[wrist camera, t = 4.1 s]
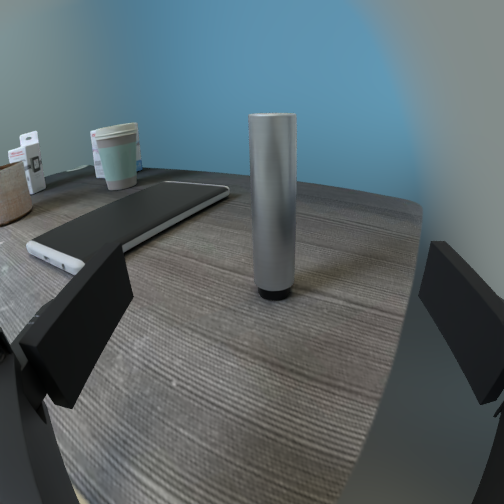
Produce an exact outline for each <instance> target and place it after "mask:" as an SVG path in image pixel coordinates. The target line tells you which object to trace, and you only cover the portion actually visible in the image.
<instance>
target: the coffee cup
mask: <svg viewBox="0 0 504 504" xmlns="http://www.w3.org/2000/svg"><path fill="white" fill-rule="evenodd" d="M136 133H137V128H136V127H135V124H134V123H127V124H121V125H115V126H110V127H105V128H100V129H97V130H96V135H95V140H96V142H97V147H98V151H99V155H100V159H101V163H102V167H103V171H104V175H105V179H106V182H107V186H108V189H109V190H121V189H126V188H129V187H132V186H134V185H136V184H137V175H136Z"/></svg>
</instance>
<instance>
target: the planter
mask: <svg viewBox="0 0 504 504" xmlns="http://www.w3.org/2000/svg"><path fill="white" fill-rule="evenodd" d="M31 209H32V202H31V197H30V193H29V188H28V184H27V179H26V174H25V168H24V162H23V161H18V162H14V163H10V164H7V165H4V166H0V226H3V225H6V224H9V223H12V222H14V221H16V220H18V219H20V218H22V217H24V216H25V215H27V214H28V213H29V212H30V210H31Z"/></svg>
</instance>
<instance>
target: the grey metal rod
mask: <svg viewBox="0 0 504 504" xmlns="http://www.w3.org/2000/svg"><path fill="white" fill-rule="evenodd" d="M248 122H249V151H250V180H251V208H252V237H253V266H254V282H255V284H256V285H257V286H258V293H259V295H260V296H261V297H263V298H264V299H267V300H281V299H284V298H286V297H287V296H288V295H289V293H290V286H292V284H293V283H294V272H295V240H296V184H297V177H296V175H297V140H296V139H297V133H296V132H297V129H296V128H297V127H296V114H293V113H257V114H249V115H248Z"/></svg>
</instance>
